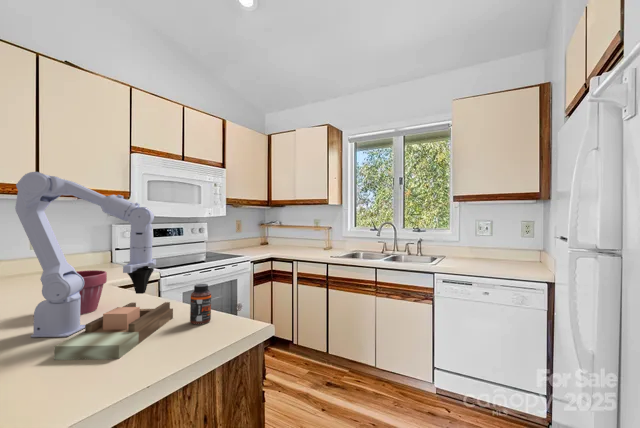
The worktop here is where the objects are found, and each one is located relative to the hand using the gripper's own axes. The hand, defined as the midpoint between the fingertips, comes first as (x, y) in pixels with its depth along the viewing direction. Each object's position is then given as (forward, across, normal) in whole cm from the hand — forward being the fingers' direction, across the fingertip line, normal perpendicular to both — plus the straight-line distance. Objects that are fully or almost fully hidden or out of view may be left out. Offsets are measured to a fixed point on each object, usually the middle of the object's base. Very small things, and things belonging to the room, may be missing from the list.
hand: (140, 293), depth 90 cm
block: (+6, -9, 0) cm, 11 cm away
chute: (+9, -8, 0) cm, 12 cm away
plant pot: (+10, +14, +27) cm, 32 cm away
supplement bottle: (+10, +2, -17) cm, 20 cm away
